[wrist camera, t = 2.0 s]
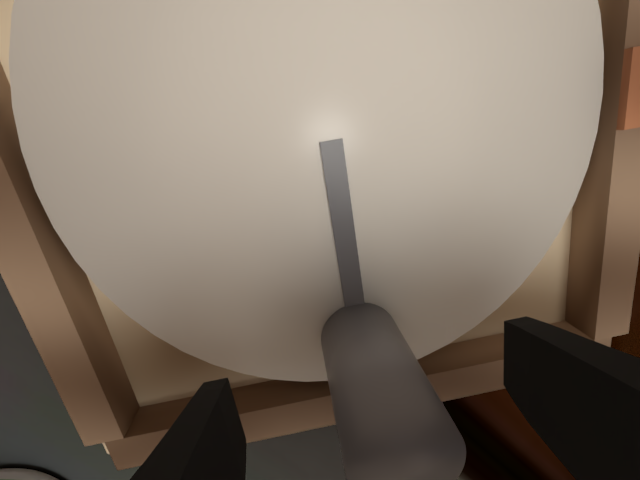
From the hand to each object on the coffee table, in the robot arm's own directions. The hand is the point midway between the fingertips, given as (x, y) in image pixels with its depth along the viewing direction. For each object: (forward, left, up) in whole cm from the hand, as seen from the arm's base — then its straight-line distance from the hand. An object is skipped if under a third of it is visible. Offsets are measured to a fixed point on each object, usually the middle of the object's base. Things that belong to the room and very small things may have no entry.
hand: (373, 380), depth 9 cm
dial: (+6, 0, -3) cm, 7 cm away
